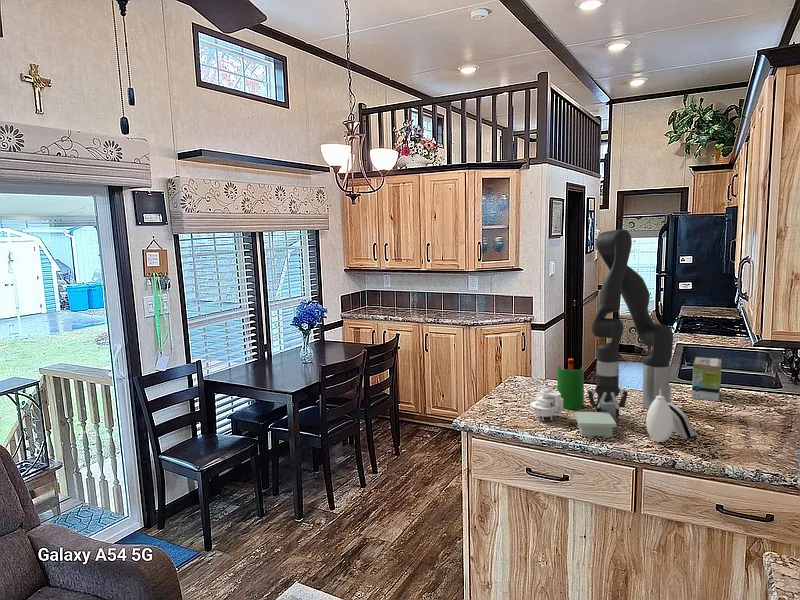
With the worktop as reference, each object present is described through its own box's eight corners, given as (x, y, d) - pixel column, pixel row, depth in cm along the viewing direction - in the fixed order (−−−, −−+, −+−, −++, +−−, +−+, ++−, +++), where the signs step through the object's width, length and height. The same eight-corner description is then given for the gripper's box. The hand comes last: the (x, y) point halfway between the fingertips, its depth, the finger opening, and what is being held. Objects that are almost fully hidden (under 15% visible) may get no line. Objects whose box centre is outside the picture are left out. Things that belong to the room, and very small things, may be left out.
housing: (611, 414, 202) (611, 394, 201) (615, 422, 193) (615, 402, 193) (597, 414, 203) (597, 394, 202) (601, 422, 194) (601, 401, 194)
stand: (608, 425, 192) (608, 412, 192) (616, 438, 181) (616, 423, 180) (573, 424, 194) (574, 411, 194) (579, 437, 183) (579, 423, 182)
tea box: (719, 401, 215) (720, 365, 213) (691, 398, 220) (692, 363, 218) (720, 392, 227) (721, 358, 226) (693, 389, 233) (694, 356, 231)
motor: (581, 402, 220) (581, 355, 217) (586, 409, 211) (586, 360, 208) (555, 402, 221) (555, 355, 218) (560, 409, 212) (560, 360, 209)
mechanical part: (524, 416, 206) (524, 386, 204) (549, 411, 210) (549, 382, 209) (543, 425, 195) (542, 393, 194) (569, 419, 200) (569, 389, 199)
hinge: (699, 438, 178) (690, 411, 177) (685, 443, 178) (676, 416, 177) (676, 421, 194) (667, 396, 194) (663, 425, 195) (654, 401, 194)
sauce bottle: (655, 435, 182) (656, 383, 180) (677, 442, 175) (678, 389, 173) (641, 440, 178) (642, 388, 176) (663, 448, 171) (664, 393, 169)
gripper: (625, 370, 197) (625, 414, 198) (585, 370, 199) (585, 414, 201) (631, 375, 189) (630, 421, 191) (588, 375, 191) (588, 421, 193)
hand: (607, 417), depth 196 cm, fingers closed on housing, 5 cm apart
